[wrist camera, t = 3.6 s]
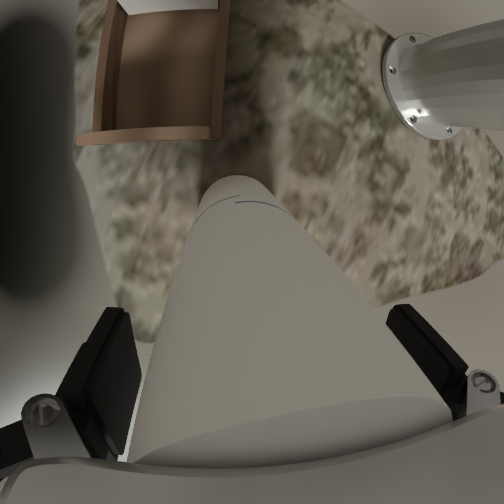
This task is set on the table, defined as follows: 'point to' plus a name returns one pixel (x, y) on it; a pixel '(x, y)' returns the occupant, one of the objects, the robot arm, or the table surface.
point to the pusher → (165, 5)
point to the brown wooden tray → (160, 76)
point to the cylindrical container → (271, 350)
